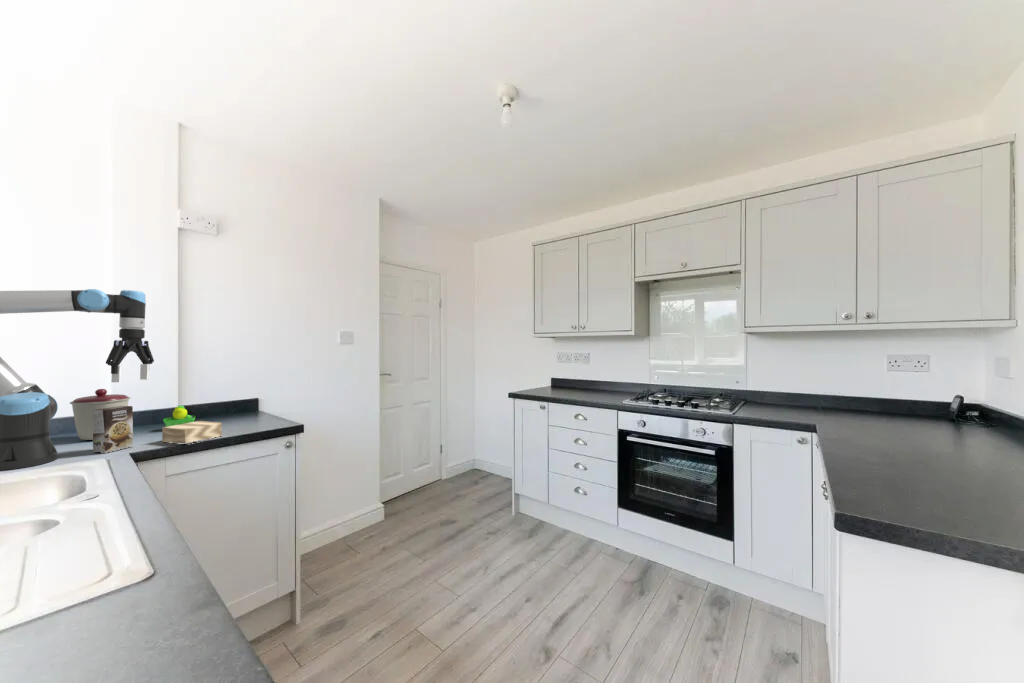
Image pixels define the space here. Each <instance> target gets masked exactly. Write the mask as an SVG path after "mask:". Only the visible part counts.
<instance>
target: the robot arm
mask: <svg viewBox="0 0 1024 683" xmlns="http://www.w3.org/2000/svg"><path fill="white" fill-rule="evenodd" d="M146 306H147V305H146V294H145V293H144V292H143V291H138V290H132V289H131V290H127V289H126V290H125V289H124V290H123V289H122V290H120V293H119V294H111V293H110V294H109V293H106V292H104V291H103V290H99V289H96V288H87V289H78V290H77V289H76V290H71V289H68V290H65V289H64V290H62V289H61V290H59V289H57V290H56V289H55V290H50V289H49V290H48V289H47V290H43V289H42V290H0V314H1V315H2V314H30V313H31V314H32V313H57V312H58V313H59V312H81V313H83V312H84V313H89V314H90V313H101V314H102V313H103V314H119V322H118V323H119V324H118V326H119V328H120V329H119V330H118V331H119V332H118V333H119V334H118V338H119V339H118V340H117V339H116V340H113V346H112V347H111V350H110V351H109V354H108V357H107V358H106V361H105V364H106V365H107V366H110V370H111V371H110V374H111V383H122V365H121V363H122V361H123V360H124V359H125V358H126V356H127V355H128V354H129V353H130V352H133V353H134V354H136V357H138V360H140V362H141V364H140V366H139V367H140V368H139V369H140V372H139V380H141V381H142V380H144V381H146V380H149V378H150V377H149V376H150V375H149V374H150V373H149V372H150V365H152V364H153V363H154V362H155V359H154V357H153V354H152V351H151V349H150V347H149V341H148V340H142V339H145V334H146V330H145V325H146ZM58 406H59V405H58V402H57V400H56V399H55V397H53V396H51V395H50V394H48V393H45V391H43V390H42V389H41V387H39V385H37V384H36V383H32V382H27V381H25V380H24V379H23V378H22V377H21V375H19V373H17V372H16V371H15V369H13V368H12V366H10V365H9V364H8V363H7V361H5V360H4V359H3V358H2V357H1V356H0V471H6V470H7V471H9V470H16V469H23V468H29V467H34V466H39V465H43V464H47V463H51V462H53V461H56V460H57V459H58V450H57V449H56V447H55V445H54V443H53V441H52V440H51V437H50V421H51V420H52V419H53V418H54V417H55V415H57V412H58V408H59V407H58Z"/></svg>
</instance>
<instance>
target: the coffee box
mask: <svg viewBox="0 0 1024 683" xmlns="http://www.w3.org/2000/svg"><path fill="white" fill-rule="evenodd" d="M133 408H134V407H133V406H132V405H128V406H118V407H110V408H103V409H95V410H93V441H92V452H102V453H101V454H104V453H105V454H108V453H107V452H110V453H113V452H112V451H114V452H117V451H116V450H119V451H121V450H120V449H123V450H125V449H124V448H127V449H129V448H128V447H132V448H133V447H134V429H133V428H134V427H133V426H134V424H133V422H134V421H133V420H134V419H133V418H134V416H133Z"/></svg>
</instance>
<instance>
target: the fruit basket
mask: <svg viewBox="0 0 1024 683" xmlns="http://www.w3.org/2000/svg"><path fill="white" fill-rule="evenodd" d="M195 419H196V415H192V414H191V415H190V414H188V410H187V409H186V408H185V406H184V405H178V406H176V407H175V408H174V409H173V411H172V416H169V417H166V418H163V424H164V425H165V426H164V427H168V426H174V425H179V424H185V423H190V422H195Z"/></svg>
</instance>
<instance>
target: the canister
mask: <svg viewBox="0 0 1024 683" xmlns="http://www.w3.org/2000/svg"><path fill="white" fill-rule="evenodd" d="M107 393H108V391H107V389H105V388H98V389H96V390H95V391H94V394H95V395H89V396H83V397H82V396H81V397H78V398H75V399H73V401H70V402H69V404H70V405H71V406H72V407H71V408H72V414H73V418H74V425H75V429H76V433H77V436H78V437H79V439H80V440H81V441H85V440H93V410H95V409H103V408H110V407H118V406H129V400H131V398H132V397H131V396H128V395H125V394H120V393H119V394H117V393H116V394H115V393H114V394H107Z"/></svg>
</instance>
